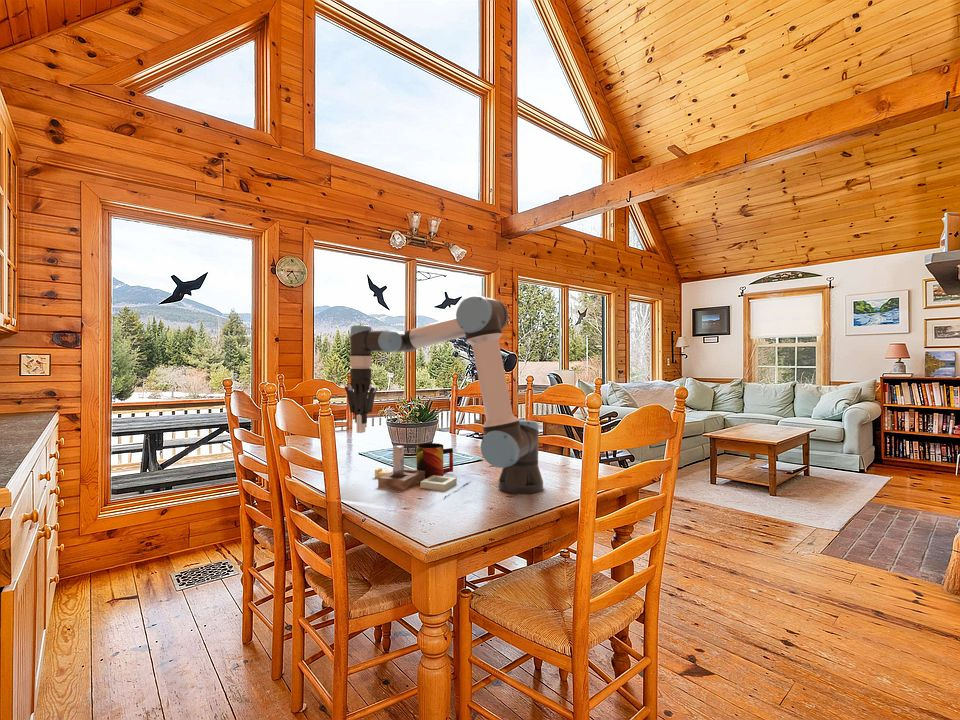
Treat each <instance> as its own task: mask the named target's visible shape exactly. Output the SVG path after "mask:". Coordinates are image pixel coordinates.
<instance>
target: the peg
mask: <svg viewBox="0 0 960 720" xmlns="http://www.w3.org/2000/svg"><path fill="white" fill-rule="evenodd" d="M404 448H405V445H399V444H398V445H394V446H392V472H393V478H403V477H404V469H405V466H404V465H405V449H404Z"/></svg>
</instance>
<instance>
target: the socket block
mask: <svg viewBox="0 0 960 720" xmlns="http://www.w3.org/2000/svg"><path fill="white" fill-rule="evenodd" d="M389 472H390V473H388V474H386V475H383V476H381V477H378V478H377V482H378V483H377V484H378V485H377V486H378V488H385V489H394V490H400V491H405V490H407V489H409V488H411V487H413V486H415V485H417V484H419V483H420V482H421V481H423V480H425V471H421V470H417V469H410V468H404V477H403V478H393V471H389Z"/></svg>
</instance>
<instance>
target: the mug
mask: <svg viewBox="0 0 960 720" xmlns="http://www.w3.org/2000/svg"><path fill="white" fill-rule="evenodd" d="M445 454H448V455H449V459H448V460H449V461H448V462H449V464H448V465H449V467H444V455H445ZM416 470H421V471H425V479H427V478H429V477H431V476H433V475H436V476H444V474H448V473H452V472H454V448H453V447H449V448H444V444H441V443H438V442H437V443H436V442H434V443H433V442H425V443H419V444H417V445H416Z"/></svg>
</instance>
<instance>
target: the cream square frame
mask: <svg viewBox="0 0 960 720" xmlns="http://www.w3.org/2000/svg"><path fill="white" fill-rule="evenodd" d="M457 482H458V480H457V477H452V476H444V475H443V476H436V475H433V476H431V477H429V478H427V479H425V480H423V481H421V482H419V483H420V488H421V489H426V490H428V489H429V490H434V491H435V490H436V491H443V492H444V491H447V490H448V489H450V488H452V487H454V486H455V485H457Z"/></svg>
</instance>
